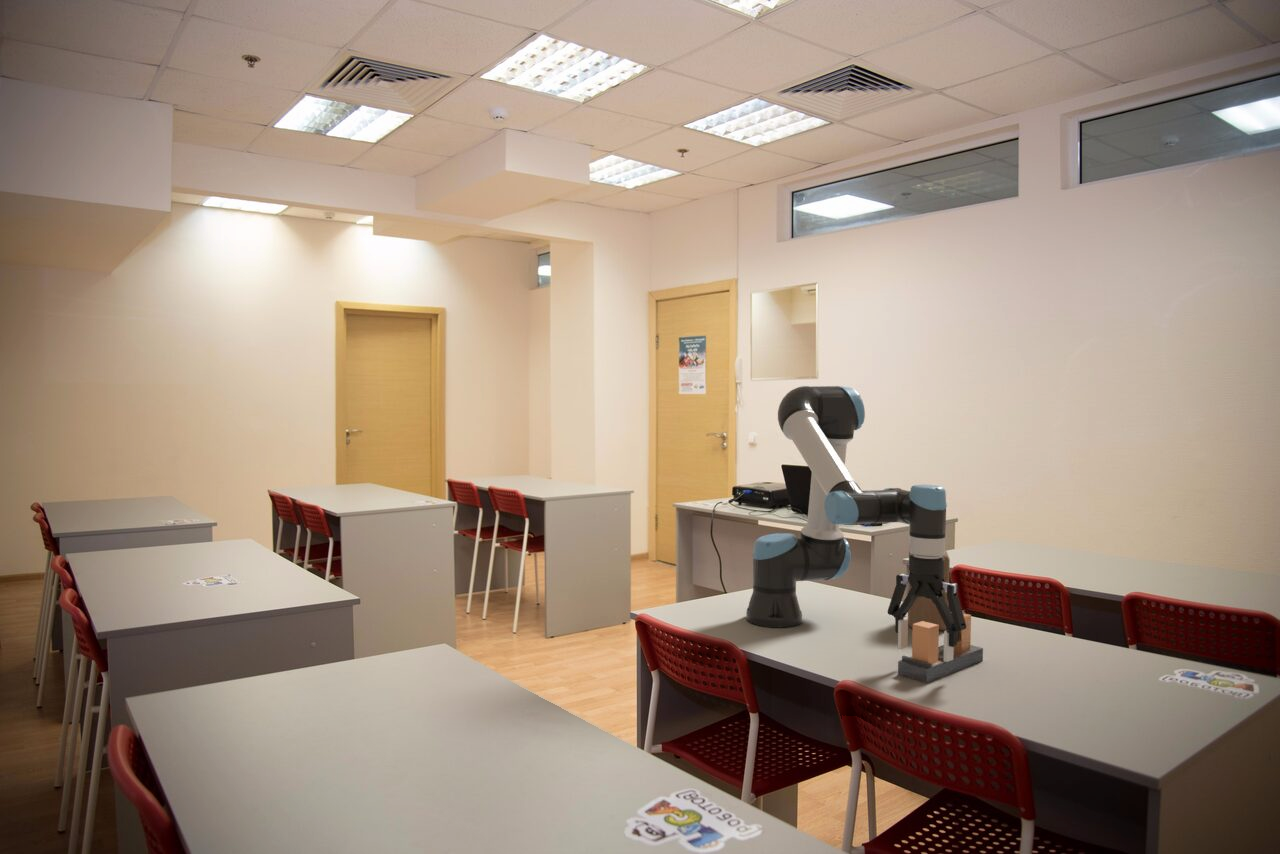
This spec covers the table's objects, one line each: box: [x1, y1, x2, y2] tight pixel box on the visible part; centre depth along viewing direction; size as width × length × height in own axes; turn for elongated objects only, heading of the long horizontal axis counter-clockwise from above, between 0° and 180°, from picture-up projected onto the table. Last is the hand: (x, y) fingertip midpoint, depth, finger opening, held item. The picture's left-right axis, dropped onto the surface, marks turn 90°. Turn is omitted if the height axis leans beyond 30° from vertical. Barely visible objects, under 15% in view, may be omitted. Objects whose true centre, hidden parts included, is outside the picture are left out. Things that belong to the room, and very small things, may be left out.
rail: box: [897, 612, 984, 684], centre depth 187 cm, size 7×24×11 cm, turn 130°
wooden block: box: [907, 550, 951, 632], centre depth 221 cm, size 10×10×20 cm
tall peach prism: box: [911, 621, 940, 663], centre depth 182 cm, size 4×5×8 cm
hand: (924, 654), depth 182 cm, fingers open, 11 cm apart
